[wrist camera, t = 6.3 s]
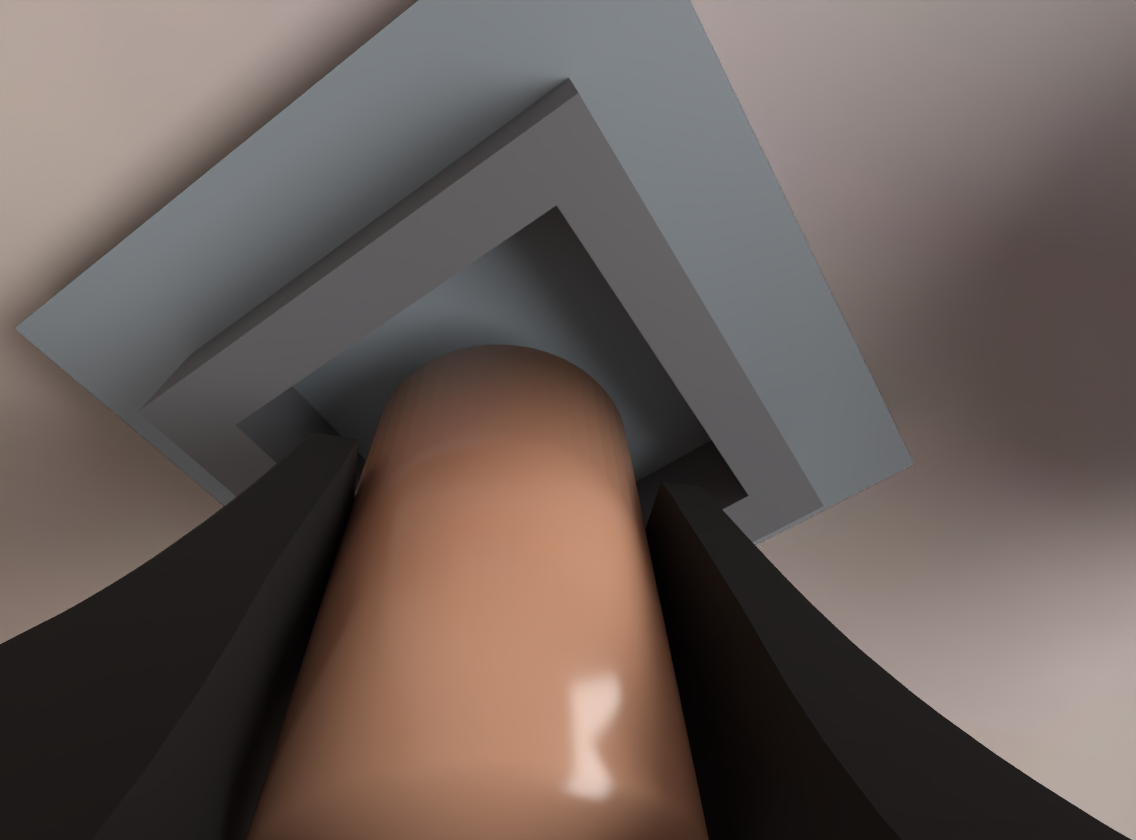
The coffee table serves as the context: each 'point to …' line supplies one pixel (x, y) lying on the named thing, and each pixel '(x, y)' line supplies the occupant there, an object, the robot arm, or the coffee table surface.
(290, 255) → the socket board
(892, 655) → the coffee table surface
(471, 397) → the peg
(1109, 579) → the coffee table surface
